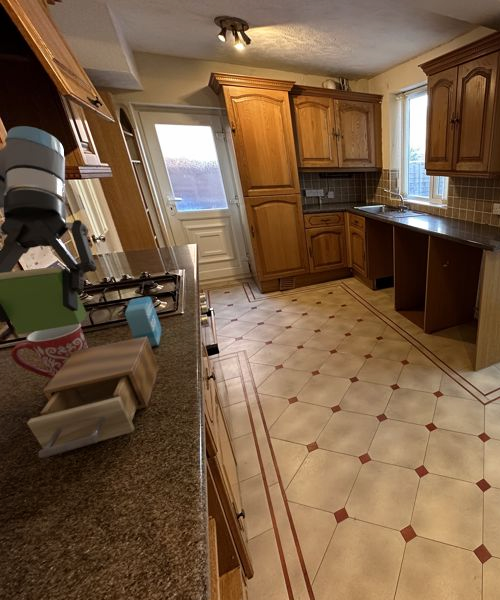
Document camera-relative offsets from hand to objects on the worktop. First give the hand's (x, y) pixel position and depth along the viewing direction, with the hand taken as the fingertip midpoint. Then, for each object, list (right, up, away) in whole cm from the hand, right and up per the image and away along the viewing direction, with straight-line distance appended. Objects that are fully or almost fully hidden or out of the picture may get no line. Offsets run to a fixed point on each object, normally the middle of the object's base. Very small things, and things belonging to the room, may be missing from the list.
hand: (35, 313), depth 53 cm
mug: (-21, -18, +26) cm, 38 cm away
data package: (-14, -10, +43) cm, 46 cm away
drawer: (+1, -23, +10) cm, 25 cm away
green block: (-1, -2, +4) cm, 5 cm away
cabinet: (-5, -20, +21) cm, 29 cm away
